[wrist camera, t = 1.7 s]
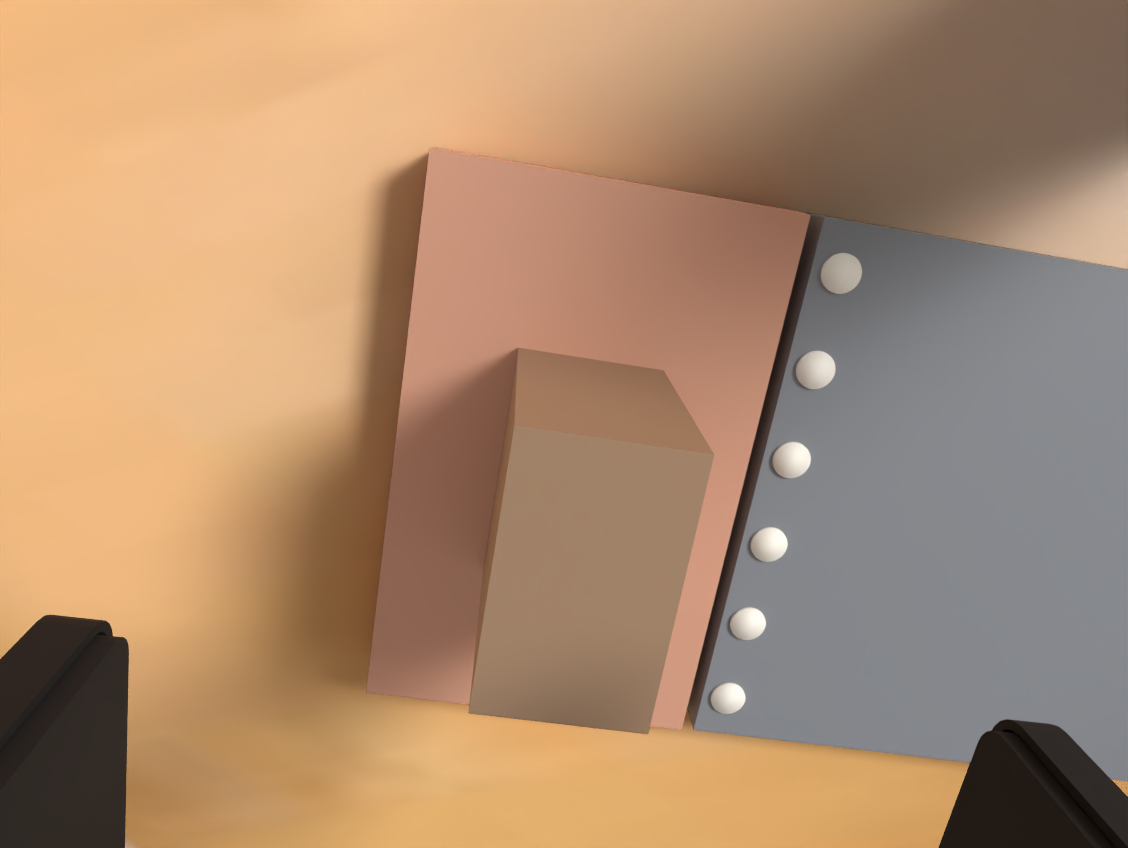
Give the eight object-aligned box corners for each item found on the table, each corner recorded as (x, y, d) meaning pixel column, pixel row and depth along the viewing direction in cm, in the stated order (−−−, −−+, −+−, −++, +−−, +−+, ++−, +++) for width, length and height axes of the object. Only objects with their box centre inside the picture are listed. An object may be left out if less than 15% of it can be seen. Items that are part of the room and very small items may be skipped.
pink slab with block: (794, 210, 18) (922, 243, 12) (674, 701, 21) (728, 908, 16) (435, 147, 17) (388, 149, 11) (374, 664, 21) (314, 868, 15)
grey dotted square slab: (1327, 304, 19) (1382, 315, 18) (1129, 753, 23) (1163, 787, 21) (805, 212, 18) (825, 217, 17) (684, 698, 21) (694, 731, 20)
